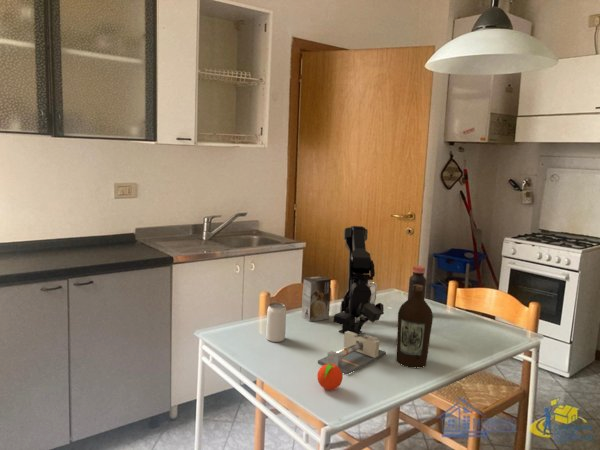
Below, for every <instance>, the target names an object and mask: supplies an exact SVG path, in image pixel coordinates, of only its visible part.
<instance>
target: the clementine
mask: <svg viewBox="0 0 600 450" xmlns="http://www.w3.org/2000/svg"><path fill="white" fill-rule="evenodd" d="M316 375H317V376H316V377H317V381H318V384H319V385H320V386H321V387H322V388H323V389H325V390H327V391H333V390H336V389H337V388H339V387H340V386H341V384H342V382H343V373H342V372H341V370H340V368H339V367H338V366H336V365H335V364H331V363H328V364H325V365H321V367H319V369H318V371H317V374H316Z"/></svg>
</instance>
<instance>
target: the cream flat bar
mask: <svg viewBox="0 0 600 450" xmlns="http://www.w3.org/2000/svg"><path fill="white" fill-rule="evenodd" d="M343 335H344V337H343V348H347V347H350V346H352V345H354V344H356V343H359V342H363V348H361V349H359V350H357V352H360V353H363V354H365V355H368V356H371V357H374V358H376V357H378V353H379V350H380V340H379V339H378V340H375V339H372V338H367V339H366V338H364V336H359V335H358V334H356V333H353V332H350V331H346V332H345V334H343Z"/></svg>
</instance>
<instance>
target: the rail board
mask: <svg viewBox="0 0 600 450" xmlns="http://www.w3.org/2000/svg"><path fill="white" fill-rule="evenodd" d="M345 348H346V347H343V349H345ZM341 350H342V349H341ZM341 350H338V351H337V352H339V351H341ZM386 354H387V351H384V350H381V349H379V353H378V357H376V358H374V357H371V356H368V355H365V354H363V353H360V352H357V351H355V352H352V353H350V354H348V355H347V356H344V357H342V366H341V367H339V368H340V370H341V372H342V374H343V373H344V374H343V375H345V374H349V373H351V372H352V373H354V372H356V371H358V370H361V369H362V368H364V367H366V366H368V365H369V363H370V364H372V363H374V362H375V361H377V360H379V359H381V358H383V357H384V355H385V356H387V355H386ZM317 364H318V365H320V366H323V365H325V364H327V356H325V357H322V358H320V359H318V360H317ZM361 367H362V368H361ZM353 371H354V372H353ZM352 373H351V374H352ZM349 375H350V374H349Z"/></svg>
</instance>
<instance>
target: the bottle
mask: <svg viewBox="0 0 600 450" xmlns="http://www.w3.org/2000/svg"><path fill="white" fill-rule="evenodd" d="M425 273H426V267H425V266H423V265H413V266H412V275H411V276H410V277H409V283H408V292H407V293H408V295H407V300H408V299H409V298H411V296H412V289H413V285H415V284H418V285H422V286H423V299H424V301H425V298H426V290H427V289H426V288H427V278H426V277H425V275H424V274H425Z"/></svg>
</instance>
